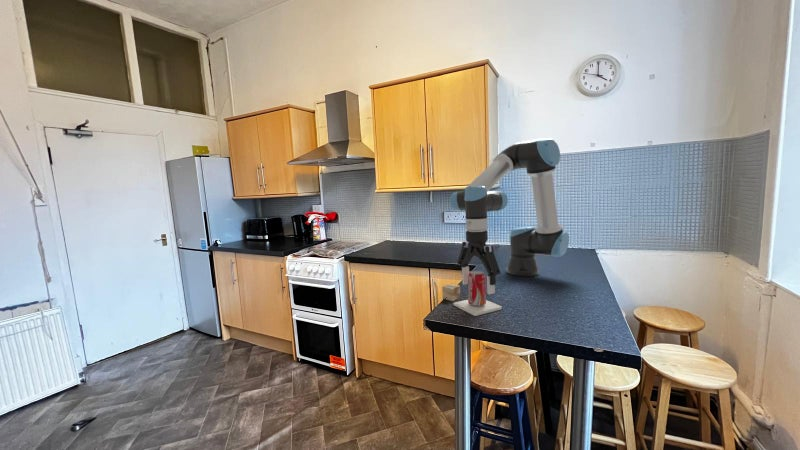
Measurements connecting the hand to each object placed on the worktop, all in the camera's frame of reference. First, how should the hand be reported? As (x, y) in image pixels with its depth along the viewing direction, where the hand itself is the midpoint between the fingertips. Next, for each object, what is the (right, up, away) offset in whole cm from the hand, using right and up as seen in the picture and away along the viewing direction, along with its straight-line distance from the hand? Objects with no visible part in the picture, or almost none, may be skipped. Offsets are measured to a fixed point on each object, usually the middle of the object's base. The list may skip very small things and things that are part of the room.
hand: (477, 288), depth 114 cm
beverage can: (0, -6, 0) cm, 6 cm away
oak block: (-8, -6, +11) cm, 15 cm away
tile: (0, -7, 0) cm, 7 cm away
